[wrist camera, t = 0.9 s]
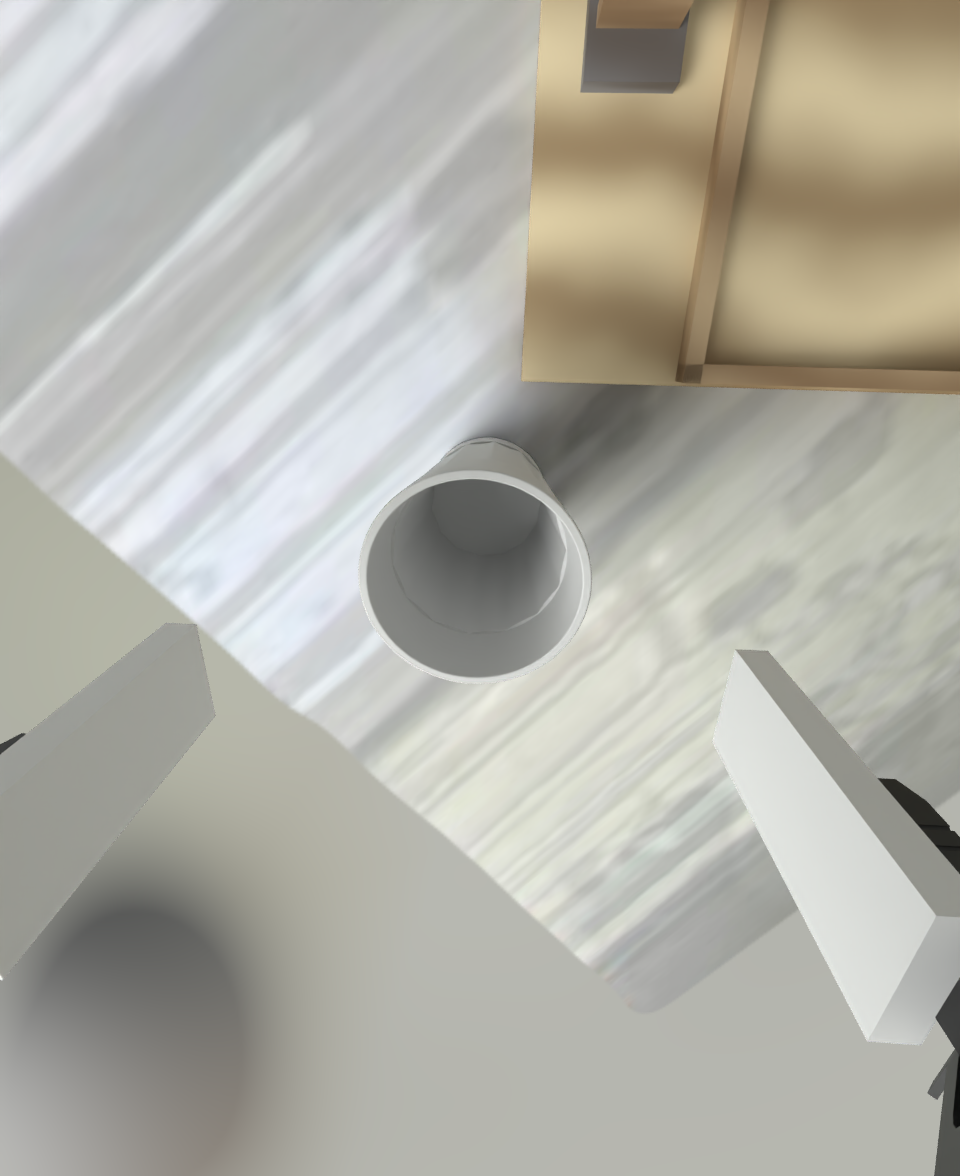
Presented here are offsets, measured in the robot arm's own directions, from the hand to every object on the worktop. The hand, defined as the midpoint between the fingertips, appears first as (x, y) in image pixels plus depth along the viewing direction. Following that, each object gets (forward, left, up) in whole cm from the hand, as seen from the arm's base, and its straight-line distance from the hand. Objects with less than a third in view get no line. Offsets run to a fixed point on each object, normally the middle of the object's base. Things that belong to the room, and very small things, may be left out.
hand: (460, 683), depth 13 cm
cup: (0, 0, -18) cm, 18 cm away
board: (-14, +13, -18) cm, 26 cm away
